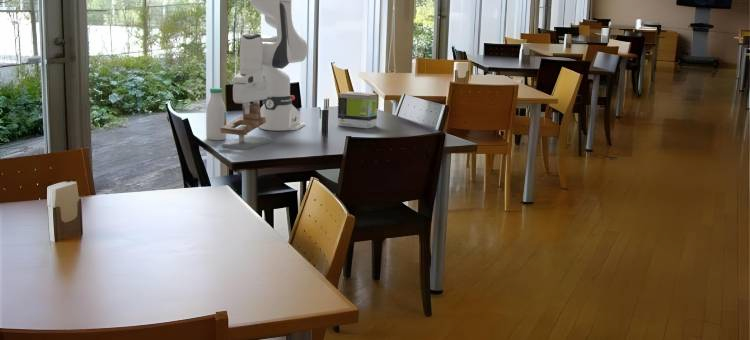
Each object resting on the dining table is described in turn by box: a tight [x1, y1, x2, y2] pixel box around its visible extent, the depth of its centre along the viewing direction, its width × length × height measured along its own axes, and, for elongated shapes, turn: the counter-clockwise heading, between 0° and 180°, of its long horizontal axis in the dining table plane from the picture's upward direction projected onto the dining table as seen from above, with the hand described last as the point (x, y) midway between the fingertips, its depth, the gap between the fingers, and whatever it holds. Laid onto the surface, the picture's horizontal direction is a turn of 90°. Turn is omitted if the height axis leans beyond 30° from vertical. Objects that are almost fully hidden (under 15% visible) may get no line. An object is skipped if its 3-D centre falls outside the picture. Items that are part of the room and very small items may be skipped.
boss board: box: [221, 133, 273, 150], centre depth 328 cm, size 20×10×5 cm, turn 157°
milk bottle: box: [205, 87, 227, 141], centre depth 335 cm, size 8×8×20 cm
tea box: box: [337, 91, 378, 129], centre depth 378 cm, size 15×10×15 cm, turn 65°
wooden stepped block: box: [220, 103, 266, 136], centre depth 323 cm, size 16×10×7 cm, turn 156°
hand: (251, 112), depth 328 cm, fingers closed on wooden stepped block, 3 cm apart
